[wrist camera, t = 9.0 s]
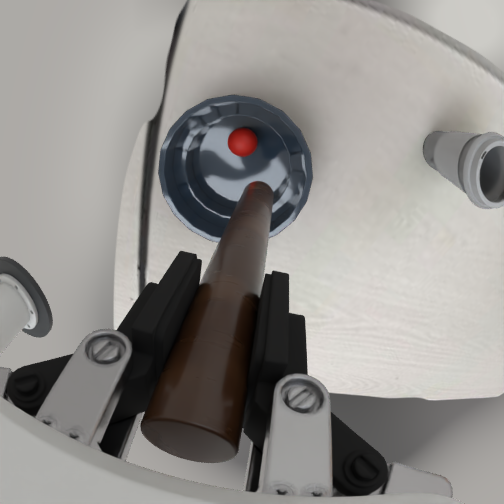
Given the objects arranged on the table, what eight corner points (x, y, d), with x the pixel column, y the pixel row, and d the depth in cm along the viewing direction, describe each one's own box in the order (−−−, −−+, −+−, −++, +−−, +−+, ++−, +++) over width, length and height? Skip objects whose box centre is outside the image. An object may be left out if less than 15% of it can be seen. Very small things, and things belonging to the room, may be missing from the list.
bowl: (173, 210, 35) (154, 229, 30) (188, 90, 28) (168, 87, 23) (290, 233, 35) (291, 257, 30) (319, 113, 28) (327, 113, 23)
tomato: (228, 151, 31) (222, 155, 28) (232, 124, 29) (227, 126, 27) (255, 156, 31) (253, 161, 28) (261, 129, 29) (259, 131, 27)
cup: (434, 109, 26) (497, 117, 15) (469, 145, 27) (532, 168, 16) (404, 156, 29) (458, 184, 19) (441, 189, 30) (497, 228, 20)
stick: (240, 206, 22) (144, 448, 6) (246, 177, 21) (133, 407, 5) (270, 212, 22) (231, 470, 6) (276, 184, 21) (246, 435, 5)
